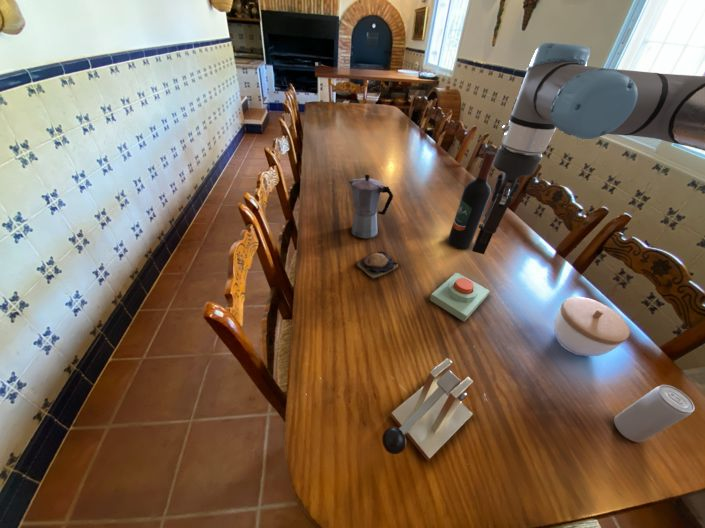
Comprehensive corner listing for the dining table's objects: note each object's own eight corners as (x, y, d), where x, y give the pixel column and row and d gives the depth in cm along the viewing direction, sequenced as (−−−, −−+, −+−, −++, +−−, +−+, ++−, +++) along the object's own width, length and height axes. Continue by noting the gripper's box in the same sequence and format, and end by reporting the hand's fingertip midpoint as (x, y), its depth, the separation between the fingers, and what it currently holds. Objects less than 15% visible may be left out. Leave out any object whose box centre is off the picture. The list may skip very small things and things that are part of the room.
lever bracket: (427, 461, 49) (450, 426, 40) (390, 416, 54) (403, 375, 45) (470, 417, 55) (498, 377, 46) (433, 380, 60) (452, 338, 51)
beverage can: (636, 449, 52) (690, 419, 45) (607, 424, 55) (652, 392, 48) (647, 434, 54) (700, 403, 47) (618, 411, 57) (664, 378, 50)
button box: (464, 322, 73) (469, 311, 70) (429, 300, 78) (433, 289, 75) (487, 296, 80) (492, 285, 78) (454, 277, 85) (458, 267, 83)
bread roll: (373, 281, 82) (374, 271, 80) (354, 264, 87) (355, 254, 85) (400, 267, 87) (402, 257, 85) (381, 252, 92) (383, 243, 90)
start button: (466, 297, 74) (468, 292, 73) (451, 288, 76) (452, 283, 75) (474, 288, 77) (476, 284, 76) (459, 280, 79) (461, 275, 78)
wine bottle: (469, 251, 96) (506, 159, 77) (446, 245, 98) (476, 154, 79) (471, 239, 101) (505, 151, 82) (448, 234, 103) (477, 146, 84)
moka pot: (351, 219, 106) (355, 165, 94) (391, 232, 102) (401, 176, 89) (339, 232, 100) (341, 175, 87) (381, 246, 95) (390, 188, 82)
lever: (395, 460, 45) (391, 460, 42) (380, 439, 47) (374, 437, 44) (463, 387, 47) (463, 382, 45) (445, 371, 49) (444, 365, 47)
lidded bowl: (570, 370, 64) (601, 339, 57) (532, 324, 73) (554, 293, 66) (617, 362, 66) (652, 331, 59) (574, 318, 76) (600, 287, 69)
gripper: (501, 135, 60) (465, 233, 75) (497, 154, 50) (457, 261, 65) (542, 142, 58) (496, 241, 73) (545, 164, 48) (492, 272, 63)
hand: (478, 251), depth 69 cm, fingers closed
